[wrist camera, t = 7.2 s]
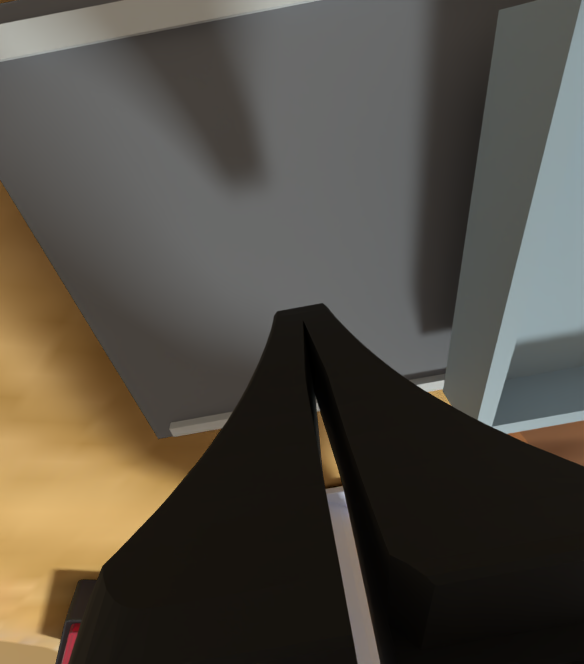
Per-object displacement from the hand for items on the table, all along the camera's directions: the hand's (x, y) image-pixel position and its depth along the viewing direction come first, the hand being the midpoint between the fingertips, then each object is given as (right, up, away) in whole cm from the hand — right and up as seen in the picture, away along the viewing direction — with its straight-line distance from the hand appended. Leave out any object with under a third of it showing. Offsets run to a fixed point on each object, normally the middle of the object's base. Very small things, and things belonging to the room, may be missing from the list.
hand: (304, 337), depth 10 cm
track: (+5, +4, +4) cm, 8 cm away
